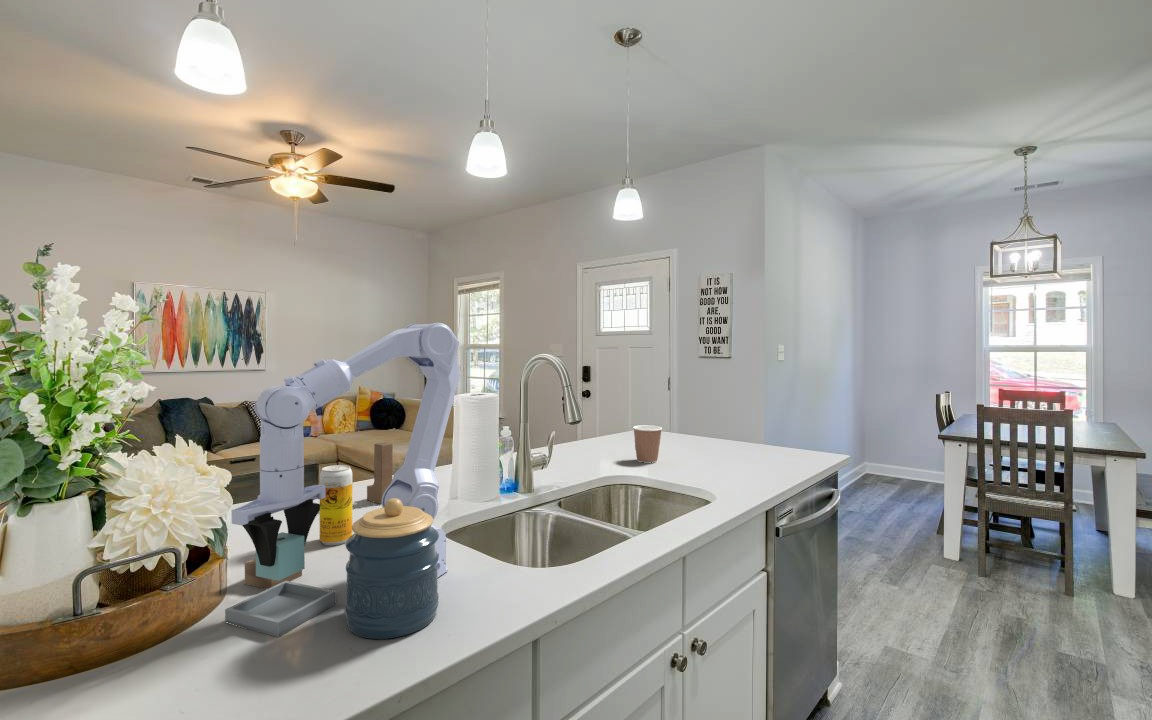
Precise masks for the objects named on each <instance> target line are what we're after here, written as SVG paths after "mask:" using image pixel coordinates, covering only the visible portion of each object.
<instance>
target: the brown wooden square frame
mask: <svg viewBox="0 0 1152 720" xmlns="http://www.w3.org/2000/svg"><path fill="white" fill-rule="evenodd" d="M302 576H303V570H301V571H299V572H297V573H294V574H292V575H290V576H288V577H286V578H284V579H282V580H280V581H278V580H273V579H268V578H263V577H258V576H256V557H255V558H253V559H251V560H248V561H246V562H244V585H246V584H249V585H248V586H251V585H253V586H252V587H255V586H257V587H256V588H260V587H261V589H264V588H265V590H267V589H269V588H271V587H273V586H275V585H277V584H280V583H282V582H284V581H290V582H293V580H296V579H298V578H300V577H302Z"/></svg>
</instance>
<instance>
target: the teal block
mask: <svg viewBox="0 0 1152 720" xmlns="http://www.w3.org/2000/svg"><path fill="white" fill-rule="evenodd" d="M255 558H256V576H258V577H263V578H268V579H273V580H278V581H280V580H282V579H284V578H286V577H288V576H290V575H292V574H294V573H297V572H299V571H301V570H302V571H303V570H304V569H305V564H306V563H305V562H306V561H305V559H306V558H305V547H304V536H302V535H296V534H290V533H288V532H278V537H277V542H276V559H275V564H274V565H273V566H271V567H268V566H263V565H260V562H259V558H258V555H257V552H256V551H255Z"/></svg>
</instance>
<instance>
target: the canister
mask: <svg viewBox="0 0 1152 720" xmlns="http://www.w3.org/2000/svg"><path fill="white" fill-rule="evenodd" d="M433 523H434V520H433V518H432V516H431V515H429V514H427V513H425V512H423V511H422V510H421V509H419V508H416V507H410V506H403V504H402V502H401V501H400V500H399V499H397V498H392V499H389V500H388V501H387V502H386V503H385V506H384V508H383V507H381V508H376V509H372V510H371V511H368V512H366V513H365V514H363V516H362V517H360V518H358V519H356V520H355V522H352V536H350V537H349V538H348V540H347V541H346V543H344V544H345V546H344V547H345V549H346V550H347V552H349V557H348V559H349V560H348V561H347V562H346V564H345V571H346V605H345V609H344V610H345V613H344V614H345V620H346V622H347V623H346V624H347V628H348V629H349V631H350V632H351V633H353V634H355V635H356V636H358V637H361V638H364V639H371V640H372V639H374V640H386V639H394V638H400V637H403V636H407V635H411V634H412V633H415V632H418V631H421V629H423V628H425V627H426V626H428V625H429V624H431V622H432V621H433V620H434V619H435V618H436V616H437V612H438V611H437V610H438V607H439V593H438V578H437V570H438V560H439V556H438V553H437V552H436V550H435V543H436V542H437V540H438V538H439V533H438V531H437V530H436V529H434V528H433V527H431V525H432V524H433Z"/></svg>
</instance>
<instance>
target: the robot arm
mask: <svg viewBox="0 0 1152 720" xmlns="http://www.w3.org/2000/svg"><path fill="white" fill-rule="evenodd" d="M459 344H460V342H459V340H458V338H457V337H456V335H455V333H454V332H453V330H452V329H451V327H449V326H448V325H447V324H445V323H442V322H434V323H433V322H432V323H424V324H423V323H422V324H421V323H420V324H418V323H411V324H408V325H406V326H404V328H399V329H398V328H397V329H396V330H393V331H392V332H390V333H388V334H387V335H384V336H383V337H381V338H380V339H378V340H376V341H374V342H373V343H371V344H370V345H367V346H366V347H365V348H363V349H361V350H359V351H357V352H356V353H354V354H353V355H351V356H349V357H347V358H345V359H344V360H342V361H339V360H337V359H333V358H329V359H327V360H324V359H318V360H317V361H315V362H313V366H314V367H312V368H310V369H307V370H306V371H304V372H302V373H300V374H298V375H296V376H294V377H293V376H291V375H289V376H288V377H286V378H284V379H283V381H284V385H273V386H270V387H268V388H266V389H265V390H263V391H262V392H261V393H260V396H258V398H257V400H256V403H255V404H254V405H253V407H254V411H255V414H256V416H257V417H258V418H259V419H260V437H259V494H258V495H257V498H256V499H254V500H251V502H248V503H247V504H244V505H242V506H238V507H237V508H233V509H231V524H232V525H237V526H242V527H243V528H244V530H245V531H246V533H247V535H248V536H249V537H250V540H251V542H252V543H253V547H254V548H255V553H256V552H257V555H258V558H259V562H260V565H263V566H268V567H271V566H273V565H274V564H275V559H276V542H277V537H278V534H279V533H280V528H281V525H282V523H283V521H282V520H281V519H275V518H274V516H272V515H273V514H275V513H278V512H281V511H283V513H284V516H285V521H286V525H287V533H290V534H296V535H302V536H304V548H305V547H306V543H307V539H308V536H309V534H310V530H311V528H312V525H313V523H314V521H315V519H316V518H317V515H318V514H319V513H320V503H317V502H314V500H320V499H323V498H325V486H322V485H320V484H313V485H309V486H306V487H304V486H305V440H304V439H305V435H304V422H306V420H307V419H308V417H309V415H310V413H311V411H312V412H314V411H315V410H317V409H318V408H321V407H323V406H324V405H326V404H327V403H330V402H331V401H333V400H335V399H336V398H338V397H340V396H342V395H343V394H345V393H347V392H349V391H350V390H351V389H352V386H353V382H354V379H355V378H358V377H360V376H362V375H364V374H365V373H367V372H370V371H372V370H373V369H375V368H377V367H380V366H381V365H385V363H387V362H389V361H391V360H393V359H395V358H398V357H399V358H400V357H403V358H404V357H407V358H408V359H409V360H410V361H412V362H413V363H415V365H417V367H418V368H419V369H420V371H421V373H423V375H424V377H425V378H426V383H425V387H424V390H423V394H422V397H421V400H420V404H419V408H418V412H417V415H416V419H415V422H414V426H413V429H412V432H411V436H410V439H409V443H408V447H407V451H406V454H405V458H404V462H403V465H402V466H401V467H400V468H399V469H397V471H396V472H395V473H393V475H392V482H391V484H390V485H389V486H388V488H387V489H386V490H385V492H384V494H383V496H382V505H381V508H384V506H385V503H386V502H387V501H388V500H389V499H392V498H397V499H399V500H400V501H401V502H402V504H403V506H410V507H416V508H419V509H421V510H422V511H423V512H425V513H427V514H429V515H431V516H432V518H433V521H434V520H435V518H436V516H437V514H438V512H439V501H438V500H439V499H438V493H439V490H440V489H439V488H440V485H439V482H438V480H437V477H436V474H435V469H436V466H437V462H438V459H439V455H440V452H441V447H442V444H443V440H444V436H445V432H446V430H447V425H448V422H449V418H450V414H451V410H452V407H453V403H454V400H455V396H456V391H457V389H458V386H459V385H458V384H459V381H460V375H461V374H460V373H461V372H460V367H459V360H458V359H459V358H458V348H459ZM431 527H433V528H434V529H436V530H437V531H438V533H439V538H438V540H437V542H436V543H435V550H436V552H437V553H438V556H439V560H438V570H437V579H438V578H440V577H441V576H442V575H444V574H445V573H447V572H448V571H449V567H447V537H446V533H445V530H443V529H442V528H440V527H437V526H435V525H434V524H433V523H432V525H431Z"/></svg>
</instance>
